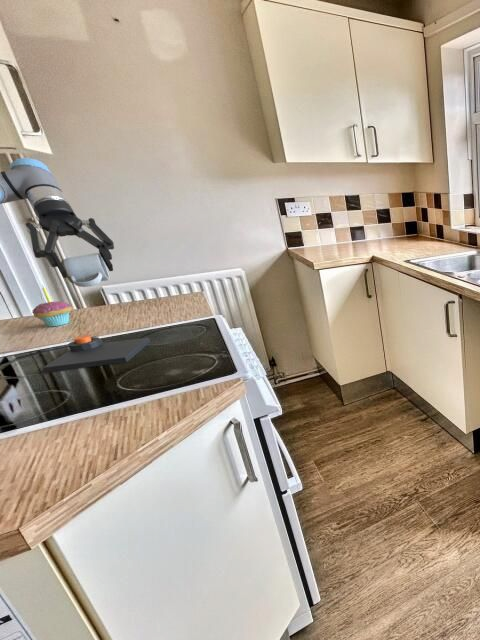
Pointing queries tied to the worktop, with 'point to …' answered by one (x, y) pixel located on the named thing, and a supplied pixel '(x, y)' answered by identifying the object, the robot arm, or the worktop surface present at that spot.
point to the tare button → (82, 339)
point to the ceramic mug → (85, 270)
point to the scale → (97, 354)
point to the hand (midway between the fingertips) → (88, 271)
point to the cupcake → (53, 312)
